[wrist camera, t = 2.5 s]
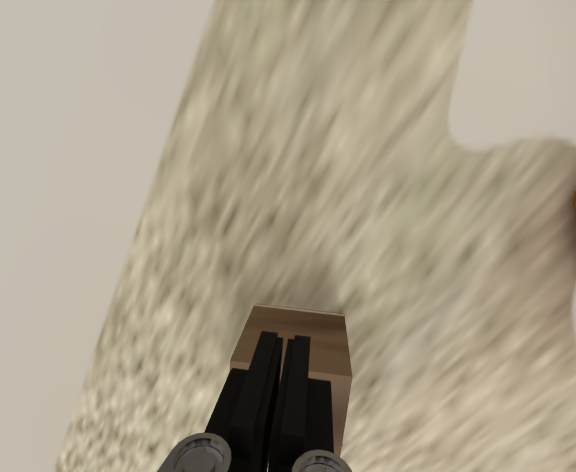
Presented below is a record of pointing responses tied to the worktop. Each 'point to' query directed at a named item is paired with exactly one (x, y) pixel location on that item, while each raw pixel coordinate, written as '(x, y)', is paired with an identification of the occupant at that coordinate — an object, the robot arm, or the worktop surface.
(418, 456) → the worktop surface
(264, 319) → the letter block
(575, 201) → the coffee package
